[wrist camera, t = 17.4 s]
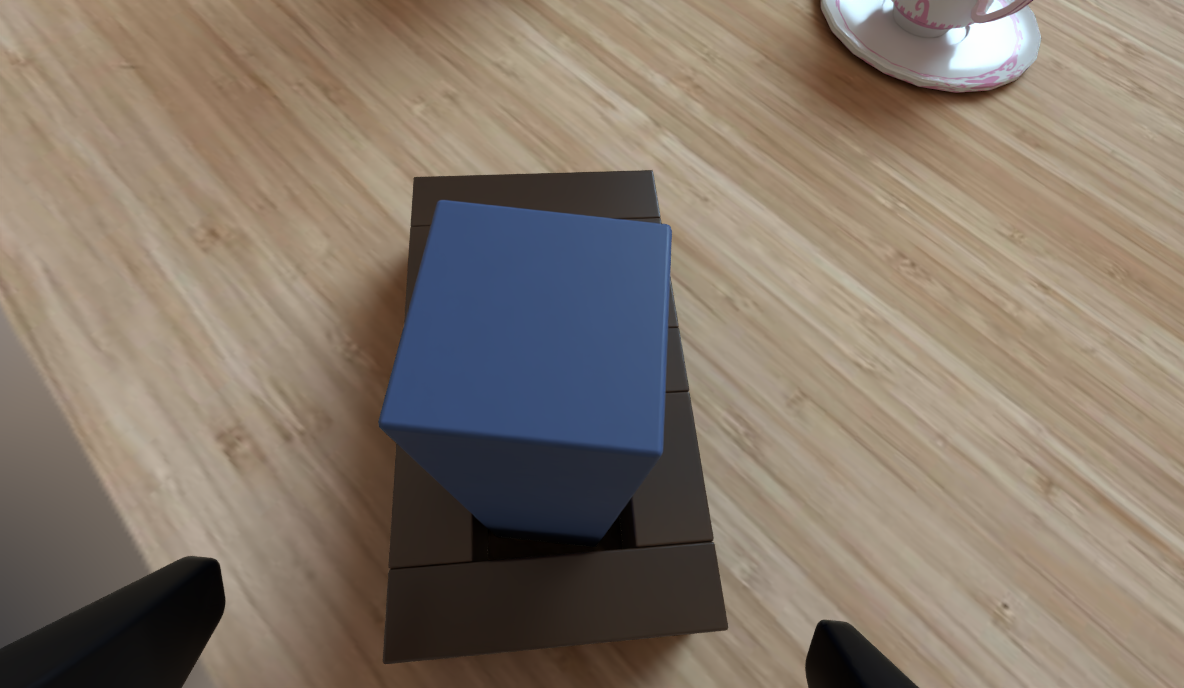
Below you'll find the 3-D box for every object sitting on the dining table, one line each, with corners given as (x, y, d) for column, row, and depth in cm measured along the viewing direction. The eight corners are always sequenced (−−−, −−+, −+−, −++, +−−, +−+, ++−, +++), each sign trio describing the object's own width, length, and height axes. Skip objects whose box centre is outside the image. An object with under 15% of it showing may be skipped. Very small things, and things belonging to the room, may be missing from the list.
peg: (596, 547, 18) (663, 457, 6) (494, 536, 18) (373, 427, 6) (605, 447, 20) (673, 222, 8) (510, 437, 20) (436, 196, 8)
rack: (698, 624, 17) (729, 630, 14) (415, 651, 17) (381, 664, 14) (640, 226, 24) (653, 169, 21) (433, 233, 23) (413, 176, 20)
